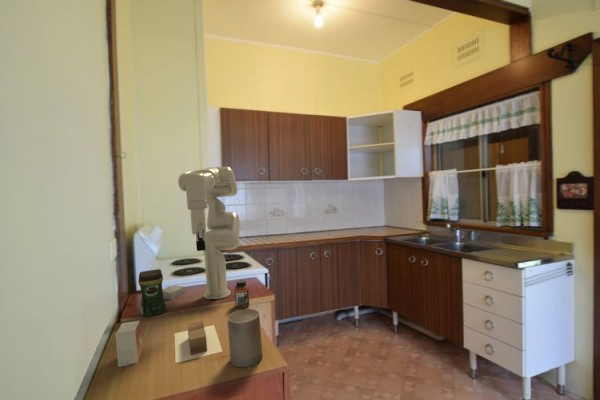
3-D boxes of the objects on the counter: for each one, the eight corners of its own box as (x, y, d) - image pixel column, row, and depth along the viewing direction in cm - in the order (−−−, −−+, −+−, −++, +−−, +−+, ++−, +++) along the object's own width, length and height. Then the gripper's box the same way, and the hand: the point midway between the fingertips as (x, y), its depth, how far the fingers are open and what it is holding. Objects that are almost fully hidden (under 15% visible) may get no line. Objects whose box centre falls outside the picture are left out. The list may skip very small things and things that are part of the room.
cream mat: (174, 334, 115) (174, 333, 115) (214, 326, 120) (214, 325, 120) (175, 364, 95) (175, 362, 95) (222, 352, 101) (222, 351, 101)
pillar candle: (256, 347, 103) (252, 302, 102) (267, 361, 95) (263, 312, 94) (226, 356, 99) (222, 309, 98) (235, 372, 90) (231, 321, 89)
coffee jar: (165, 307, 141) (162, 266, 140) (166, 313, 134) (163, 270, 133) (141, 312, 137) (138, 270, 136) (140, 318, 130) (137, 274, 129)
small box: (138, 363, 97) (135, 330, 96) (117, 367, 95) (114, 333, 94) (143, 350, 104) (140, 319, 104) (124, 354, 103) (121, 322, 102)
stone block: (155, 303, 152) (173, 299, 150) (152, 293, 152) (171, 290, 150) (169, 295, 164) (186, 292, 162) (167, 286, 164) (184, 282, 162)
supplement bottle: (238, 303, 142) (237, 278, 141) (251, 303, 141) (249, 278, 140) (233, 308, 136) (231, 283, 135) (246, 309, 135) (244, 283, 134)
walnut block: (187, 324, 110) (189, 339, 99) (202, 321, 112) (206, 336, 101) (188, 338, 110) (190, 355, 99) (203, 335, 112) (207, 351, 101)
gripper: (186, 203, 130) (190, 247, 132) (188, 207, 116) (192, 256, 118) (205, 202, 133) (208, 244, 135) (209, 206, 119) (212, 253, 121)
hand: (201, 250), depth 126 cm, fingers closed
